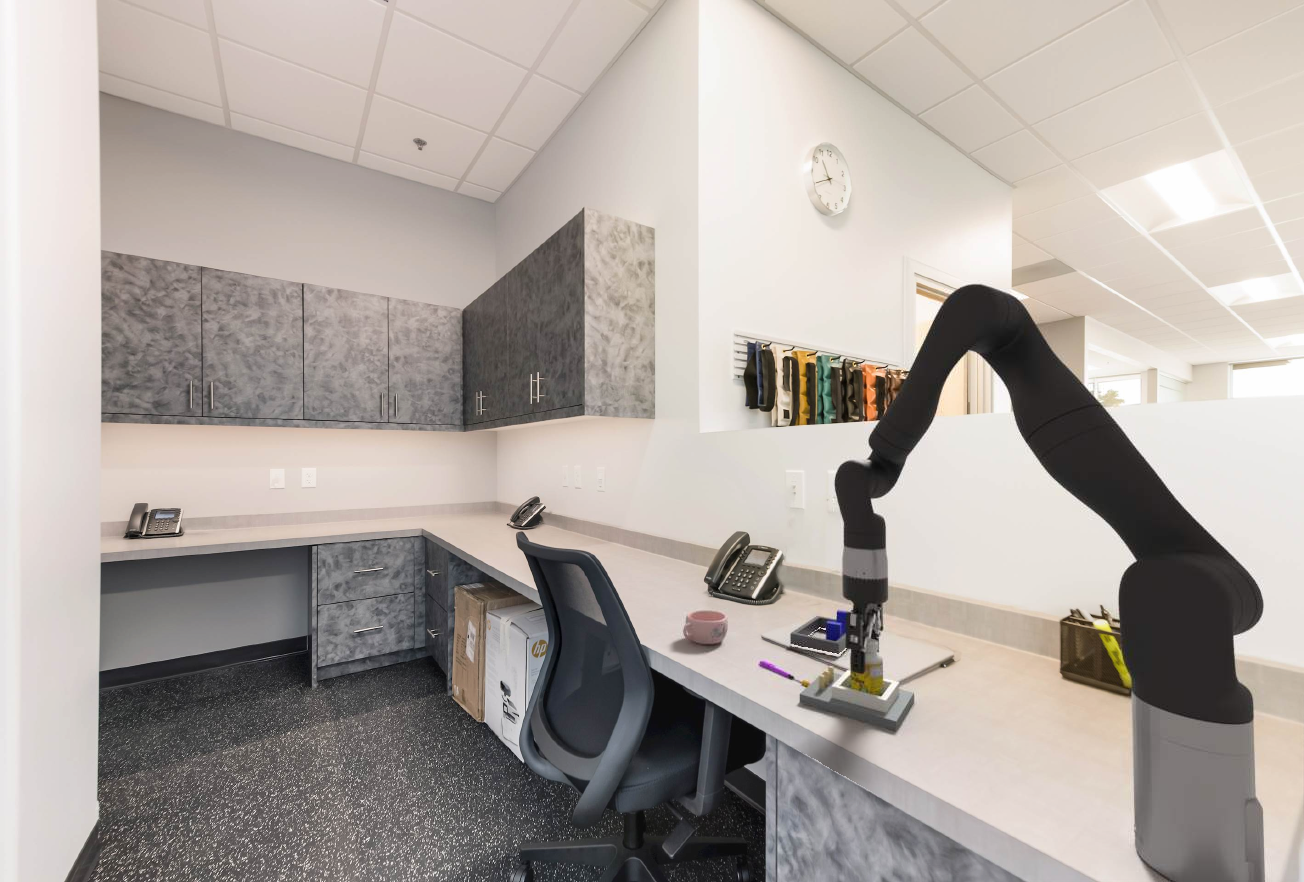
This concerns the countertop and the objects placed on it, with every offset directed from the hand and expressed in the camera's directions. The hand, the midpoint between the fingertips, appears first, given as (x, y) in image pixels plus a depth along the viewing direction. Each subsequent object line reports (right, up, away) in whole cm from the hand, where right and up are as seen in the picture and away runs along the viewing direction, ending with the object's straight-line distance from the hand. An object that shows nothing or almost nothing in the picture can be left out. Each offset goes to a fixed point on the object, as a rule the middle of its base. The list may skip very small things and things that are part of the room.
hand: (865, 664), depth 94 cm
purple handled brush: (-10, -8, +12) cm, 17 cm away
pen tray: (+4, -8, +32) cm, 33 cm away
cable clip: (+6, -8, +32) cm, 33 cm away
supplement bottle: (0, -6, 0) cm, 6 cm away
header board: (-1, -7, +1) cm, 7 cm away
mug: (-26, -8, +31) cm, 41 cm away
